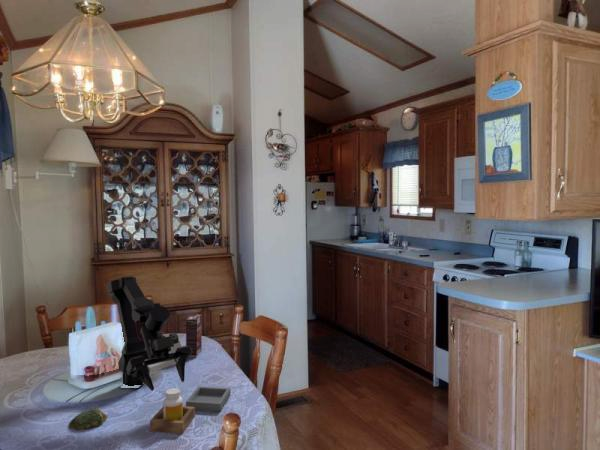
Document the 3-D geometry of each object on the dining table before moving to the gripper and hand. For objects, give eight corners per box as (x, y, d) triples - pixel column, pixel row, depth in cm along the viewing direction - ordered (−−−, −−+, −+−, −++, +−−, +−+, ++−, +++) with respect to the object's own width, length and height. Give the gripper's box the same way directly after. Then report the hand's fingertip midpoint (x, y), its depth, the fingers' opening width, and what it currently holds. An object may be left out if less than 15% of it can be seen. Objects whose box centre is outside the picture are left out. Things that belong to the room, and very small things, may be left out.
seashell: (94, 397, 130) (114, 406, 124) (95, 410, 130) (115, 419, 125) (61, 413, 121) (80, 424, 116) (62, 427, 122) (82, 438, 116)
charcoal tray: (185, 409, 131) (185, 401, 131) (198, 393, 142) (198, 386, 142) (220, 411, 130) (220, 403, 129) (230, 395, 141) (230, 388, 140)
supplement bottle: (186, 423, 123) (186, 390, 122) (169, 431, 119) (169, 397, 118) (176, 417, 126) (176, 385, 126) (159, 424, 122) (159, 391, 122)
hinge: (149, 372, 159) (144, 345, 160) (143, 373, 162) (138, 347, 163) (187, 360, 171) (182, 335, 173) (181, 361, 174) (176, 337, 176)
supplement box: (197, 357, 174) (197, 319, 173) (185, 357, 174) (185, 319, 173) (202, 350, 183) (202, 314, 182) (191, 350, 183) (190, 313, 182)
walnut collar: (150, 431, 118) (150, 420, 118) (164, 414, 128) (164, 404, 127) (182, 433, 117) (182, 423, 117) (194, 416, 127) (194, 406, 126)
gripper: (128, 330, 122) (143, 381, 114) (189, 319, 134) (206, 364, 126) (120, 350, 128) (133, 399, 120) (179, 338, 140) (194, 382, 132)
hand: (168, 385), depth 124 cm, fingers open, 9 cm apart
